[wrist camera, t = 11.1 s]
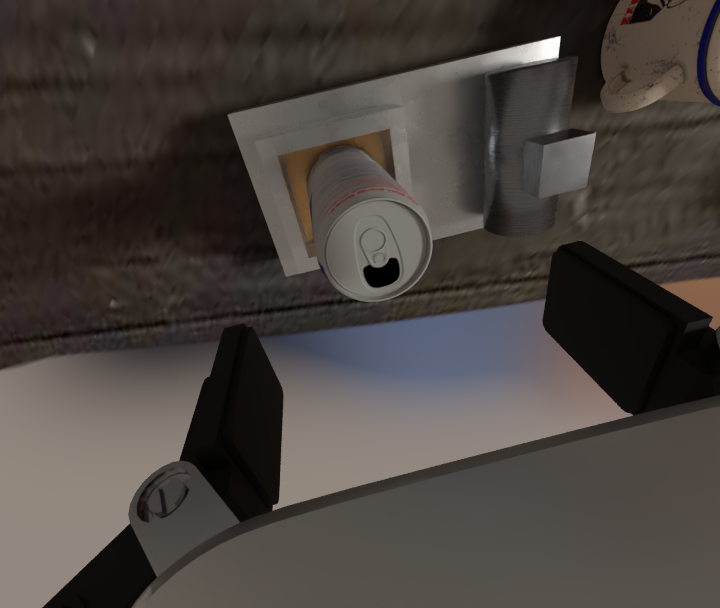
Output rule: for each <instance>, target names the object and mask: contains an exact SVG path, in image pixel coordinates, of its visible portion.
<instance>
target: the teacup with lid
mask: <svg viewBox="0 0 720 608" xmlns="http://www.w3.org/2000/svg"><path fill="white" fill-rule="evenodd" d="M601 68H602V73H603V77H604V79H605V82H606V83H605V85H604V86H603V88H602V90H601V93H600V97H601V101H602V105H603V106H604V108H605V109H607V110H609V111H611V112H619V113H621V112H629V111H633V110H636V109H639V108H642V107H644V106H647V105H649V104H651V103H653V102H655V101H657V100H671V101H690V102H709V103H713V104H715V105H717V106H720V0H620V1H619V3H618V4H617V6H616V8H615V10H614V12H613V14H612V16H611V18H610V20H609V23H608V25H607V28H606V31H605V35H604V38H603V43H602V49H601Z"/></svg>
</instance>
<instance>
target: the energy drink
mask: <svg viewBox="0 0 720 608" xmlns="http://www.w3.org/2000/svg"><path fill="white" fill-rule="evenodd" d="M307 194H308V201H309V208H310V216H311V223H312V230H313V238H314V245H315V252H316V257H317V261H318V264H319V266H320V268H321V270H322V272H323V274H324V275H325V276H326V278H327V279H328V280H329V281H330V282H331V283H332V285H333V286H334V287H335V288H336V289H337V290H338V291H340V292H341V293H342V294H344V295H346V296H348V297H350V298H352V299H356V300H359V301H366V302H377V301H384V300H388V299H391V298H394V297H396V296H399V295H400V294H402V293H404V292H405V291H407V290H408V289H410V288H411V287H412V286H413V285H414V284H415V283H416V282H417V281H418V280H419V279H420V278H421V276H422V275H423V273H424V272H425V270H426V268H427V266H428V264H429V261H430V258H431V253H432V235H431V231H430V226H429V222H428V218H427V216H426V214H425V212H424V210H423V209H422V207H421V206H420V205H419V204H418V203H417V201H416V200H415V199H414V198H413V197H412V196H411V195H410V194H409V193H408V192H406V191H405V190H404V189H403V188H402V187H401V186H400V185H399V184H398V183H397V182H396V181H395V180H394V179H393V178H392V177H391V176H390V175H389V174H388V173H387V172H386V171H385V170H384V169H383V168H382V167H381V166H380V165H379V164H378V163H377V162H376V161H375V160H374V159H373V158H372V157H371V156H370V155H369V154H367V153H366V152H365V151H363V150H361V149H359V148H357V147H354V146H349V145H340V146H335V147H332V148H330V149H327V150H326V151H324V152H323V153H321V154H320V155H319V156H318V157H317V158H316V159H315V160H314V162H313V164H312V165H311V167H310V170H309V173H308V177H307Z"/></svg>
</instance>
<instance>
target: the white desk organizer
mask: <svg viewBox="0 0 720 608" xmlns="http://www.w3.org/2000/svg"><path fill="white" fill-rule="evenodd" d="M560 38H561V36H559V37H553V38H547V39H541V40H534V41H528V42H524V43H519V44H515V45H511V46H506V47H502V48H498V49H494V50H489V51H485V52H481V53H477V54H472V55H468V56H464V57H460V58H455V59H451V60H447V61H443V62H438V63H434V64H430V65H426V66H421V67H417V68H413V69H409V70H404V71H400V72H396V73H392V74H387V75H383V76H379V77H375V78H370V79H366V80H362V81H358V82H353V83H349V84H345V85H341V86H336V87H332V88H328V89H324V90H319V91H315V92H311V93H307V94H302V95H298V96H294V97H290V98H285V99H281V100H277V101H273V102H268V103H264V104H260V105H256V106H251V107H247V108H243V109H239V110H235V111H233V112H231V113H229V114H228V118H229V121H230V123H231V126H232V129H233V132H234V134H235V137H236V140H237V143H238V145H239V148H240V151H241V154H242V156H243V159H244V162H245V165H246V167H247V170H248V173H249V176H250V178H251V181H252V184H253V187H254V189H255V192H256V195H257V198H258V200H259V203H260V206H261V209H262V211H263V214H264V217H265V220H266V222H267V225H268V228H269V231H270V233H271V236H272V239H273V242H274V244H275V247H276V250H277V253H278V255H279V258H280V261H281V264H282V266H283V269H284V272H285V275H286V277H287V276H291V275H295V274H300V273H304V272H308V271H312V270H316V269H320V266H319V264H318V261H317V257H316V252H315V245H314V238H313V230H312V223H311V216H310V208H309V201H308V194H307V177H308V173H309V170H310V167H311V165H312V164H313V162H314V160H315V159H316V158H317V157H318V156H319V155H320V154H321V153H323V152H324V151H326V150H327V149H330V148H332V147H335V146H340V145H349V146H354V147H357V148H359V149H361V150H363V151H365V152H366V153H367V154H369V155H370V156H371V157H372V158H373V159H374V160H375V161H376V162H377V163H378V164H379V165H380V166H381V167H382V168H383V169H384V170H385V171H386V172H387V173H388V174H389V175H390V176H391V177H392V178H393V179H394V180H395V181H396V182H397V183H398V184H399V185H400V186H401V187H402V188H403V189H404V190H405V191H406V192H408V193H409V194H410V195H411V196H412V197H413V198H414V199H415V200H416V201H417V203H418V204H419V205H420V206H421V207H422V209H423V210H424V212H425V214H426V216H427V218H428V222H429V226H430V231H431V235H432V240H436V239H440V238H444V237H448V236H452V235H456V234H460V233H464V232H468V231H472V230H476V229H480V228H485V229H486V230H487V231H489V232H491V233H493V234H496V235H500V236H507V237H524V236H532V235H537V234H540V233H543V232H546V231H548V230H549V229H551V228H552V227H553V226H554V225H555V220H556V213H557V206H558V199H559V194H560V193H564V192H568V191H573V190H577V189H581V188H585V187H586V186H587V181H588V175H589V170H590V164H591V159H592V153H593V148H594V142H595V137H596V133H595V132H590V131H584V130H578V129H568V127H569V120H570V113H571V106H572V98H573V91H574V84H575V77H576V70H577V63H578V56H566V57H558V56H559V47H560Z"/></svg>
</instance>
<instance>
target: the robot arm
mask: <svg viewBox="0 0 720 608" xmlns="http://www.w3.org/2000/svg"><path fill="white" fill-rule="evenodd" d="M712 318H713V317H712V316H710V315H708V314H707V313H705V312H703V311H702V310H700V309H698V308H696V307H694V306H693V305H691V304H689V303H688V302H686V301H684V300H682V299H681V298H679V297H678V296H676V295H674V294H672V293H670V292H669V291H667V290H665V289H664V288H662V287H660V286H659V285H657V284H655V283H654V282H652V281H650V280H648V279H647V278H645V277H643V276H642V275H640V274H638V273H636V272H635V271H633V270H631V269H630V268H628V267H626V266H624V265H623V264H621V263H619V262H618V261H616V260H614V259H612V258H611V257H609V256H607V255H606V254H604V253H602V252H600V251H599V250H597V249H595V248H594V247H592V246H590V245H588V244H587V243H585V242H583V241H577V242H573V243H569V244H565V245H561V246H560V247H559V248H558V249H557V251H556V252H554V254H553V256H552V261H551V268H550V275H549V281H548V288H547V295H546V301H545V309H544V315H543V326H544V328H545V330H546V331H547V332H548V333H549V334H550V335H551V337H552V338H553V339H554V340H555V341H556V342H557V343H558V344H559V345H560V346H561V347H562V348H563V349H564V350H565V351H566V352H567V353H568V354H569V355H570V356H571V357H572V358H573V359H574V360H575V361H576V362H577V363H578V364H579V365H580V366H581V367H582V368H583V369H584V371H585V372H587V374H588V375H589V376H590V377H591V378H592V379H593V380H594V381H595V382H596V383H597V384H598V385H599V386H600V387H601V388H602V389H603V390H604V391H605V392H606V393H607V394H608V395H609V396H610V397H611V398H612V399H613V400H614V401H615V402H616V403H617V405H618V406H620V407H621V409H623V410H624V411H625V412H627V413H631V414H633V416H630V417H626V418H623V419H618V420H615V421H610V422H607V423H602V424H598V425H595V426H590V427H586V428H582V429H578V430H574V431H570V432H566V433H563V434H559V435H555V436H551V437H547V438H543V439H539V440H535V441H531V442H527V443H523V444H519V445H515V446H512V447H508V448H504V449H500V450H496V451H492V452H488V453H484V454H480V455H476V456H473V457H469V458H465V459H461V460H457V461H453V462H449V463H446V464H441V465H438V466H434V467H430V468H426V469H423V470H419V471H415V472H411V473H408V474H403V475H399V476H396V477H392V478H388V479H385V480H380V481H377V482H373V483H369V484H365V485H361V486H357V487H354V488H350V489H346V490H343V491H339V492H336V493H332V494H328V495H325V496H321V497H318V498H314V499H311V500H307V501H303V502H300V503H296V504H293V505H289V506H286V507H283V508H280V509H277V510H274V511H272V508H273V505H274V504H277V503H278V500H279V487H280V464H281V463H280V462H281V440H282V418H283V390H282V387H281V385H280V382H279V380H278V378H277V376H276V374H275V372H274V370H273V368H272V366H271V364H270V361H269V359H268V357H267V355H266V353H265V351H264V349H263V347H262V345H261V343H260V340H259V338H258V336H257V334H256V332H255V330H254V328H253V327H247V326H246V325H245V324H240V325H236V326H231V327H227V328H225V329H224V330H223V333H222V336H221V340H220V343H219V347H218V351H217V354H216V357H215V361H214V364H213V368H212V371H211V375H210V377H207V378H206V379H205V380H204V383H203V385H202V388H201V392H200V395H199V398H198V402H197V405H196V408H195V411H194V414H193V418H192V421H191V425H190V428H189V431H188V434H187V437H186V441H185V444H184V447H183V451H182V454H181V457H180V460H179V461H177V462H172V463H170V464H167V465H165V466H163V467H161V468H160V469H159V470H157V471H155V472H154V473H153V474H151V475H150V476H149V477H148V478H147V479H146V480H145V481H144V482H143V483H142V485H141V486H140V487H139V489H138V490H137V492H136V493H135V495H134V497H133V499H132V501H131V504H130V508H129V514H128V515H129V519H130V524H129V525H128V526H127V527H126V528H125V529H124V530H123V531H122V532H121V533H120V534H119V535H118V536H117V537H115V538H114V539H113V540H112V541H111V542H110V543H109V544H108V545H107V546H106V547H105V548H104V549H103V550H102V551H101V552H100V553H99V554H98V555H97V556H96V557H95V558H94V559H93V560H91V561H90V562H89V563H88V564H87V565H86V566H85V567H84V568H83V569H82V570H81V571H80V572H79V573H78V574H77V575H76V576H75V577H74V578H73V579H72V580H71V581H70V582H69V583H68V584H66V585H65V586H64V587H63V588H62V589H61V590H60V591H59V592H58V593H57V594H56V595H55V596H54V597H53V598H52V599H51V600H50V601H49V602H48V603H47V604H46V605H45V606H44V607H42V608H720V326H719V327H718V328H717V329H716V330H714V329H712V328H710V327H709V324H710V322H711V320H712Z"/></svg>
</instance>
